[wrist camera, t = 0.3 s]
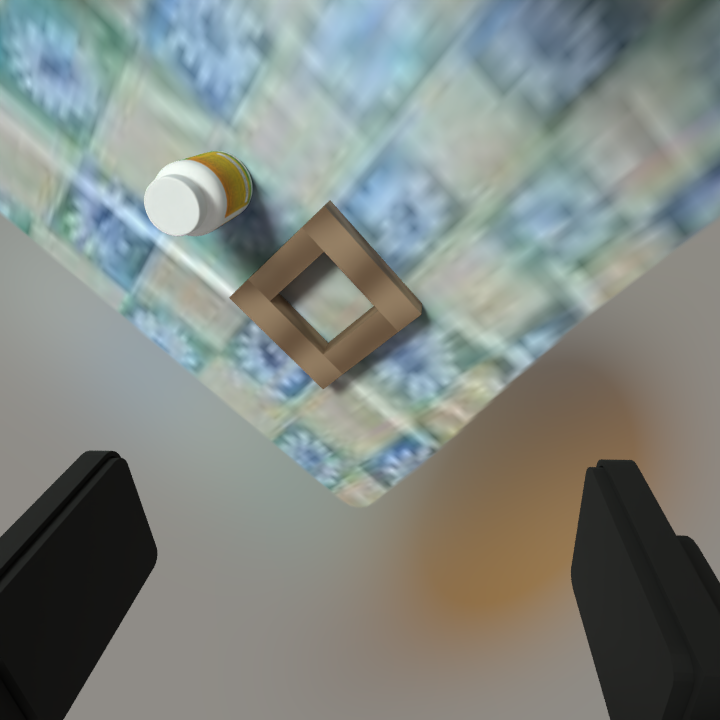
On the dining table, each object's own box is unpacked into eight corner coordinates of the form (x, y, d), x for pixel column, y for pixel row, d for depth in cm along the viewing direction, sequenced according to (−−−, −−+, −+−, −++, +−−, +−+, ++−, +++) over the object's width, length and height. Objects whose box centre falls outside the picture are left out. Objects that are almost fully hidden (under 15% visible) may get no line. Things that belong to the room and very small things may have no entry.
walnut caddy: (238, 288, 47) (229, 297, 45) (330, 200, 43) (324, 206, 40) (327, 376, 51) (323, 389, 48) (421, 303, 46) (421, 314, 44)
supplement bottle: (215, 135, 41) (158, 146, 33) (266, 183, 43) (225, 206, 34) (180, 185, 44) (119, 208, 35) (230, 229, 45) (182, 262, 36)
